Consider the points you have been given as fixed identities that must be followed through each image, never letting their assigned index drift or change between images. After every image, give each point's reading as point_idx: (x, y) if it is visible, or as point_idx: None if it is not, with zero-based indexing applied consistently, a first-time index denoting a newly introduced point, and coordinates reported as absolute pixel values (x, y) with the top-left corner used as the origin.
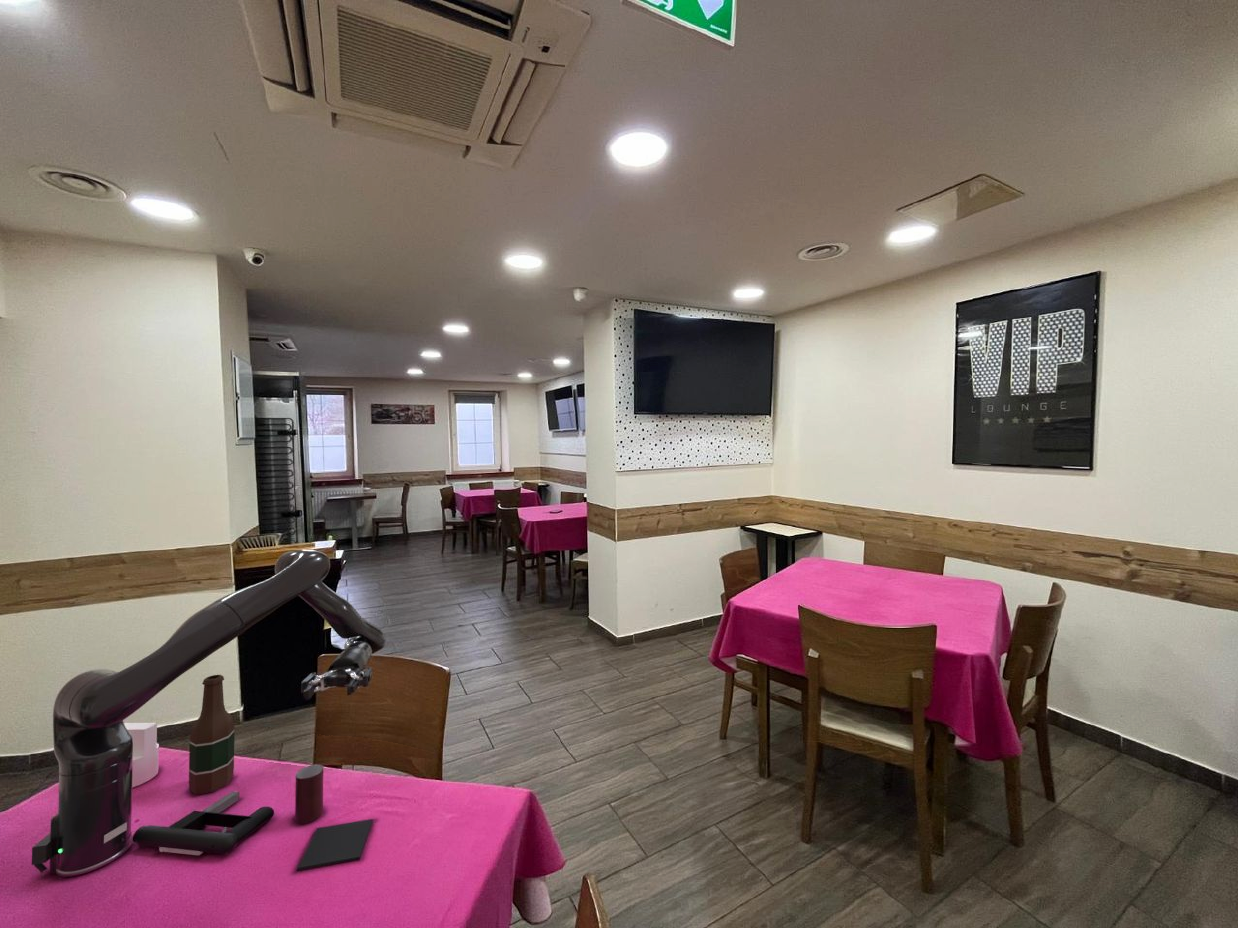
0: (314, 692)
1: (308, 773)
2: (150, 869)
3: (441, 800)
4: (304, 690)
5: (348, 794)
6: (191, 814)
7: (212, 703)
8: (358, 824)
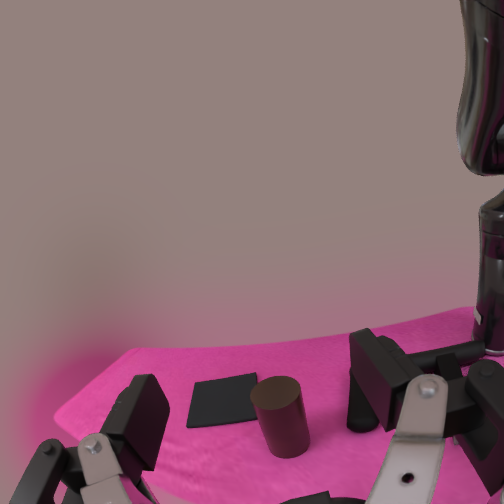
0: (385, 429)
1: (274, 386)
2: (423, 350)
3: None
4: (389, 341)
5: (239, 487)
6: (457, 373)
7: None
8: (203, 419)
